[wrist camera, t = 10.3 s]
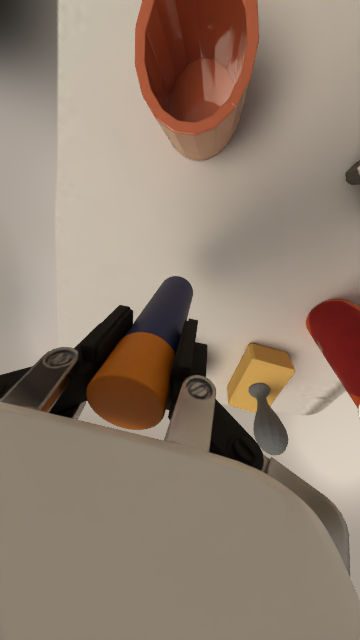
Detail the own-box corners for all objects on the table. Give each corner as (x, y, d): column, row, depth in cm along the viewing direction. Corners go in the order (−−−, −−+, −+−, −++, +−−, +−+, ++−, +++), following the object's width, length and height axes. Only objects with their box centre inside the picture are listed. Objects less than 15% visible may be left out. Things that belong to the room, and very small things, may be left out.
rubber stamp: (249, 342, 28) (269, 418, 18) (288, 352, 28) (332, 436, 17) (226, 387, 33) (231, 467, 23) (259, 396, 33) (280, 481, 23)
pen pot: (168, 48, 16) (136, -66, 9) (252, 57, 15) (280, -56, 9) (160, 155, 19) (133, 126, 13) (229, 165, 19) (237, 141, 12)
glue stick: (161, 272, 17) (80, 366, 7) (196, 278, 17) (168, 386, 6) (158, 304, 19) (89, 420, 8) (190, 310, 18) (160, 437, 8)
